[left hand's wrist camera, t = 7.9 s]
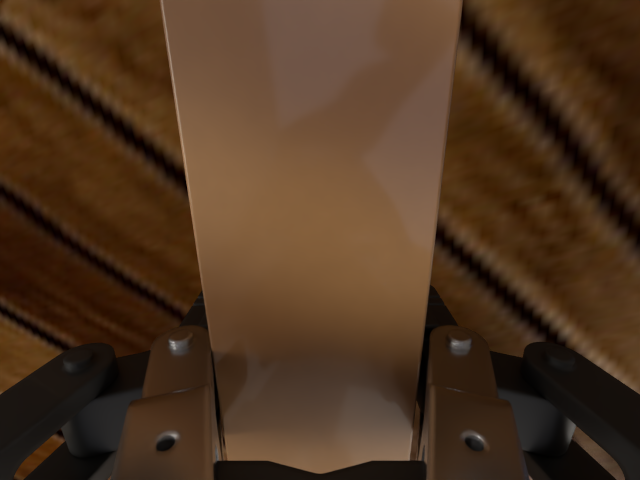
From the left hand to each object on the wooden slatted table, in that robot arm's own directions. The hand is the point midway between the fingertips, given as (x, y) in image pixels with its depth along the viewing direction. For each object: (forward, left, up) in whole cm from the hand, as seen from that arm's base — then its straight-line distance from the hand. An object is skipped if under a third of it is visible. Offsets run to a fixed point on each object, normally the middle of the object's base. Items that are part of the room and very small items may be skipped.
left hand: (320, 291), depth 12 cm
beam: (+12, +13, -2) cm, 18 cm away
